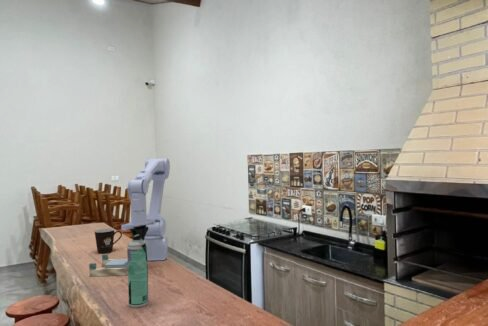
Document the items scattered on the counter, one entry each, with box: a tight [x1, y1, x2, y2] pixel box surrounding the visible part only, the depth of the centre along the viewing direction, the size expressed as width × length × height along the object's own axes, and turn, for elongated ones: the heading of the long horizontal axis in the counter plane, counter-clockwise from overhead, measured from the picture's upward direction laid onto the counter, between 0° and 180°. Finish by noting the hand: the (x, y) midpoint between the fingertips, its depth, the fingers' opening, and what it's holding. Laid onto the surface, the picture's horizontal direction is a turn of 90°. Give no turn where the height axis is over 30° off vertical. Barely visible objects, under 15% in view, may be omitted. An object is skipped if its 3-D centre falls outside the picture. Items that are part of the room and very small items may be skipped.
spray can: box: [126, 234, 149, 309], centre depth 102 cm, size 6×6×20 cm
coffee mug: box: [94, 228, 123, 255], centre depth 164 cm, size 12×9×10 cm
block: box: [104, 258, 128, 271], centre depth 135 cm, size 7×7×4 cm
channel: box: [88, 253, 128, 278], centre depth 135 cm, size 13×13×4 cm
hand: (139, 246), depth 135 cm, fingers closed
